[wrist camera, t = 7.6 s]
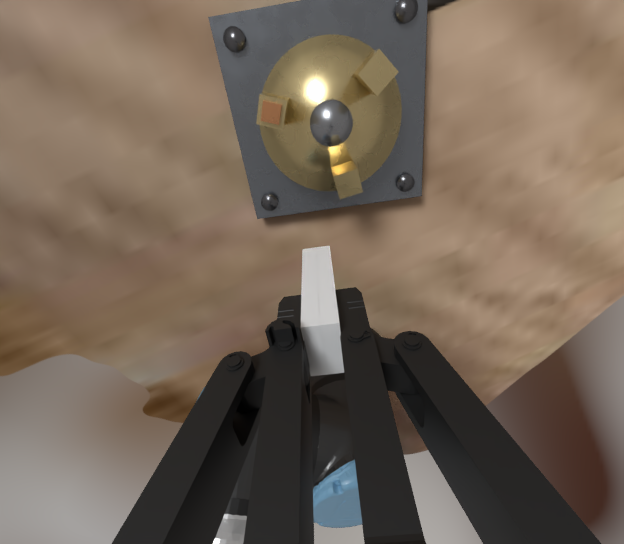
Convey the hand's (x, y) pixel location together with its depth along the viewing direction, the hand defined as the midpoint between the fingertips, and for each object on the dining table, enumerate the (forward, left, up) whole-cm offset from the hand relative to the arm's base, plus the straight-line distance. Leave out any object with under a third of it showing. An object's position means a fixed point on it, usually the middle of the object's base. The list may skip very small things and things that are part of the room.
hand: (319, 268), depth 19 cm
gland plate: (+5, -2, -24) cm, 25 cm away
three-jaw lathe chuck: (+5, -2, -22) cm, 23 cm away
